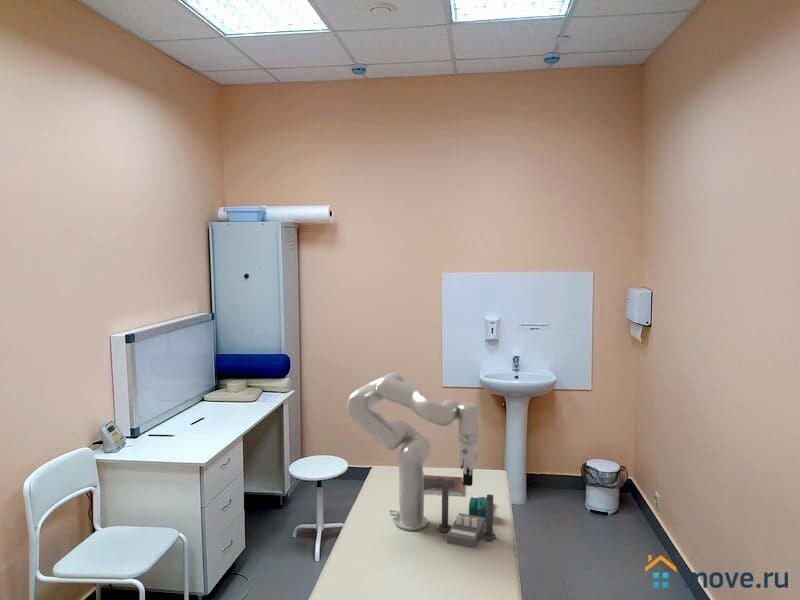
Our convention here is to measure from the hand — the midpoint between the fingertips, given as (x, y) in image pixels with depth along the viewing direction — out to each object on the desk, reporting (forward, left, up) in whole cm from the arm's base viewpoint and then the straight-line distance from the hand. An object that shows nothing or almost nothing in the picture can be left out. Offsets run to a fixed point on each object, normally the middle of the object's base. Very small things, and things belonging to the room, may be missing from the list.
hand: (467, 484), depth 207 cm
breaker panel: (0, 0, -19) cm, 19 cm away
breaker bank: (0, 0, -16) cm, 16 cm away
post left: (-9, 0, -19) cm, 21 cm away
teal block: (+1, +20, -20) cm, 28 cm away
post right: (+8, 0, -19) cm, 21 cm away
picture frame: (-22, +36, -20) cm, 47 cm away
